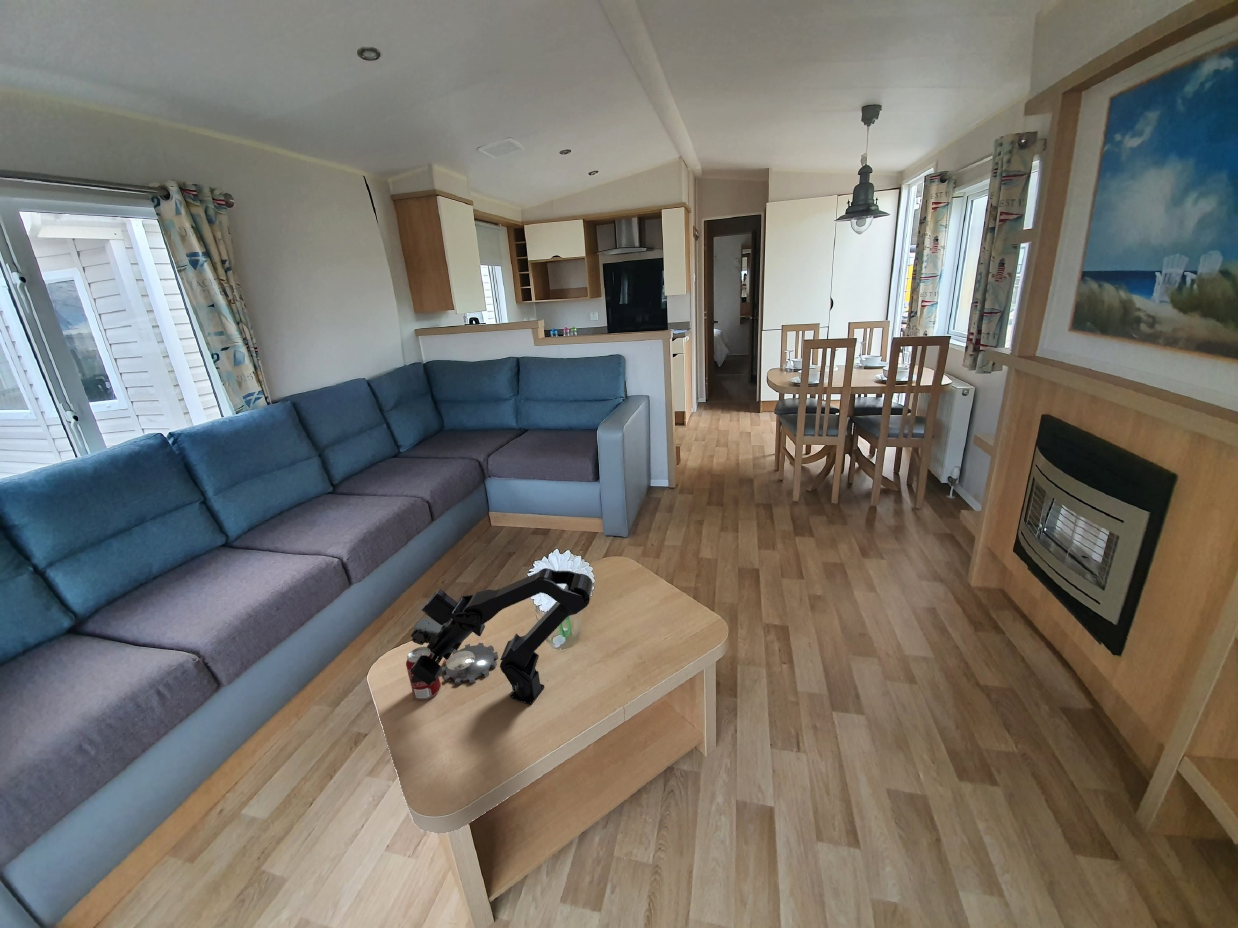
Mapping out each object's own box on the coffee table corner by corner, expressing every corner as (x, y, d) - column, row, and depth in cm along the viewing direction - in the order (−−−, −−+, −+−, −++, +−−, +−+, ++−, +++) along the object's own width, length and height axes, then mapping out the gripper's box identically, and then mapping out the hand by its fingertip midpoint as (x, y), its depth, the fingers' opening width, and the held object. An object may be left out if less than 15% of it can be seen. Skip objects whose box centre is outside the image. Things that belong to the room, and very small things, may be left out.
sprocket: (508, 653, 140) (508, 649, 139) (474, 691, 127) (473, 687, 126) (467, 641, 146) (466, 637, 145) (429, 676, 133) (429, 672, 132)
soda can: (432, 703, 124) (423, 664, 120) (408, 700, 125) (398, 661, 121) (446, 683, 130) (438, 646, 126) (423, 680, 131) (414, 643, 127)
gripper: (445, 590, 128) (412, 625, 133) (411, 637, 110) (374, 676, 115) (478, 616, 130) (445, 650, 134) (450, 666, 112) (413, 703, 117)
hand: (420, 668), depth 125 cm, fingers open, 9 cm apart
